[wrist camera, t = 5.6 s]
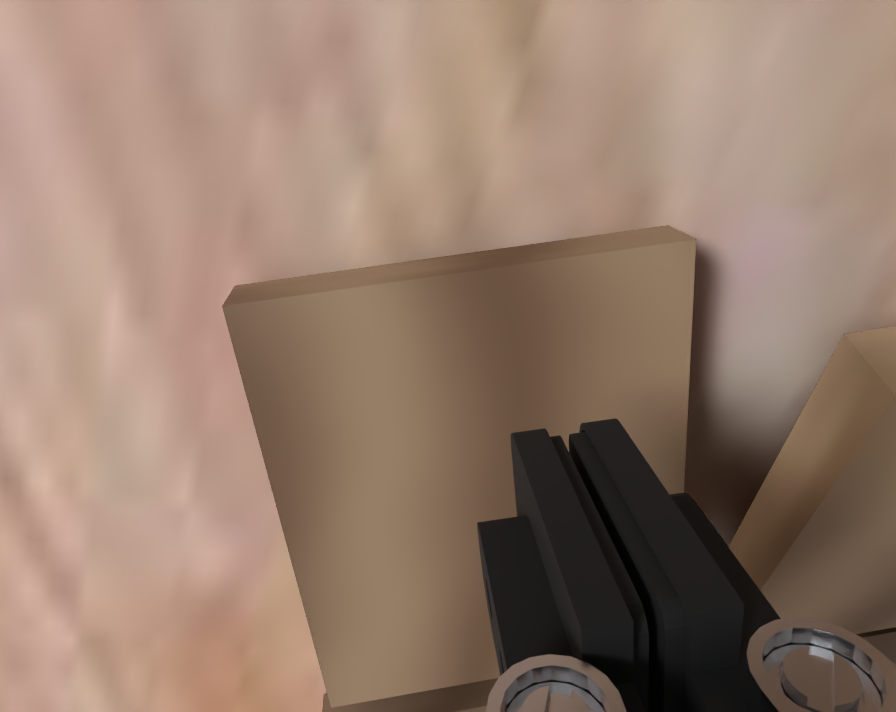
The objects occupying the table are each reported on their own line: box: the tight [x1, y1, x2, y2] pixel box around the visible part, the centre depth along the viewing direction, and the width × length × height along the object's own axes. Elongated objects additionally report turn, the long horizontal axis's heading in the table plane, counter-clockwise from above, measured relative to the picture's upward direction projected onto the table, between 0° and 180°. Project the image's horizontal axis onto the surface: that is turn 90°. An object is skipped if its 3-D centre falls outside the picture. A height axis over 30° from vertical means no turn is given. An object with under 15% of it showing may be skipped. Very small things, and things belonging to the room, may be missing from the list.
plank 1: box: [222, 225, 696, 708], centre depth 16 cm, size 10×12×1 cm
